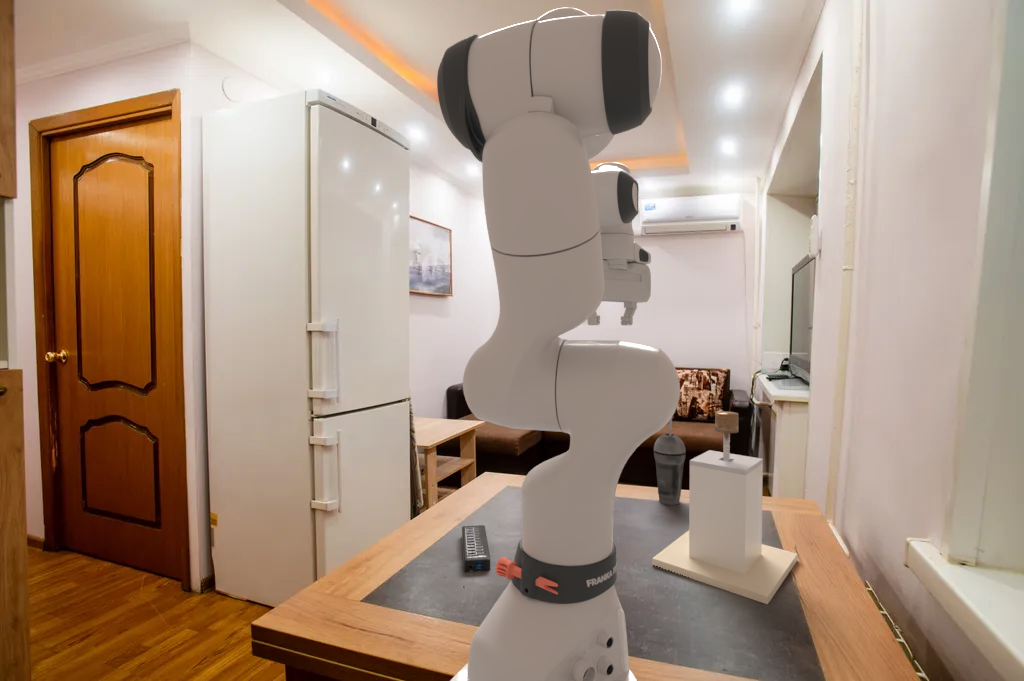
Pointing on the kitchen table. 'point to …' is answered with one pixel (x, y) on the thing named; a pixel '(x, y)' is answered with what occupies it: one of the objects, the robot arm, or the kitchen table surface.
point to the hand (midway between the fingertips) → (610, 325)
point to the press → (727, 530)
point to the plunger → (726, 429)
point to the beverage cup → (669, 466)
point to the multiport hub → (475, 549)
